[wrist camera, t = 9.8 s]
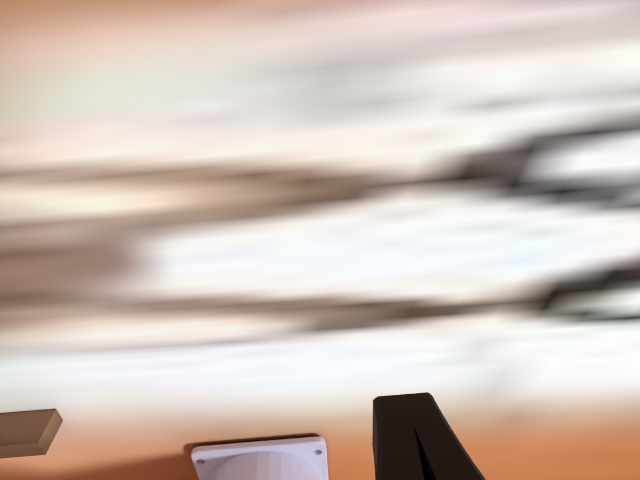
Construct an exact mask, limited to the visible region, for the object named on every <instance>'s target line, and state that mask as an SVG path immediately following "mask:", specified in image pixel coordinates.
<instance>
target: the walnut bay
mask: <svg viewBox="0 0 640 480" xmlns="http://www.w3.org/2000/svg"><path fill="white" fill-rule="evenodd" d="M62 421H63V420H62V419H61V417H60V415H59V413H58V412H57V410H56V409H53V410H40V411H28V412H16V413H3V414H0V458H10V457H22V456H35V455H46V453H47V451H48V449H49V447H50V445H51V443H52V441H53V439H54V437H55V435H56V433H57V431H58V429H59V427H60V425H61V423H62Z"/></svg>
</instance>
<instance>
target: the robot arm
mask: <svg viewBox="0 0 640 480" xmlns="http://www.w3.org/2000/svg"><path fill="white" fill-rule="evenodd" d="M373 453H374V464H375V480H485V478H484V477H483V475H482V474H481V472H480V471H479V470H478V468H477V467H476V465H475V464H474V463H473V461H472V460H471V458H470V457H469V455H468V454H467V452H466V451H465V449H464V448H463V446H462V445H461V443H460V442H459V440H458V438H457V437H456V435H455V434H454V432H453V431H452V429H451V427H450V426H449V424H448V423H447V421H446V419H445V418H444V416H443V414H442V412H441V411H440V409H439V407H438V405H437V404H436V402H435V400H434V398H433V396H432V395H431V394H429V393H428V392H427V393H415V394H403V395H391V396H378V397H377V398H375V399H374V400H373ZM191 459H192V461H193V464H194V467H195V470H196V472H197V475H198V478H199V480H329V479H328V467H327V454H326V442H325V439H324V438H322V437H305V438H293V439H281V440H269V441H257V442H245V443H233V444H221V445H209V446H198V447H195V448H193V449H192V452H191Z"/></svg>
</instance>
